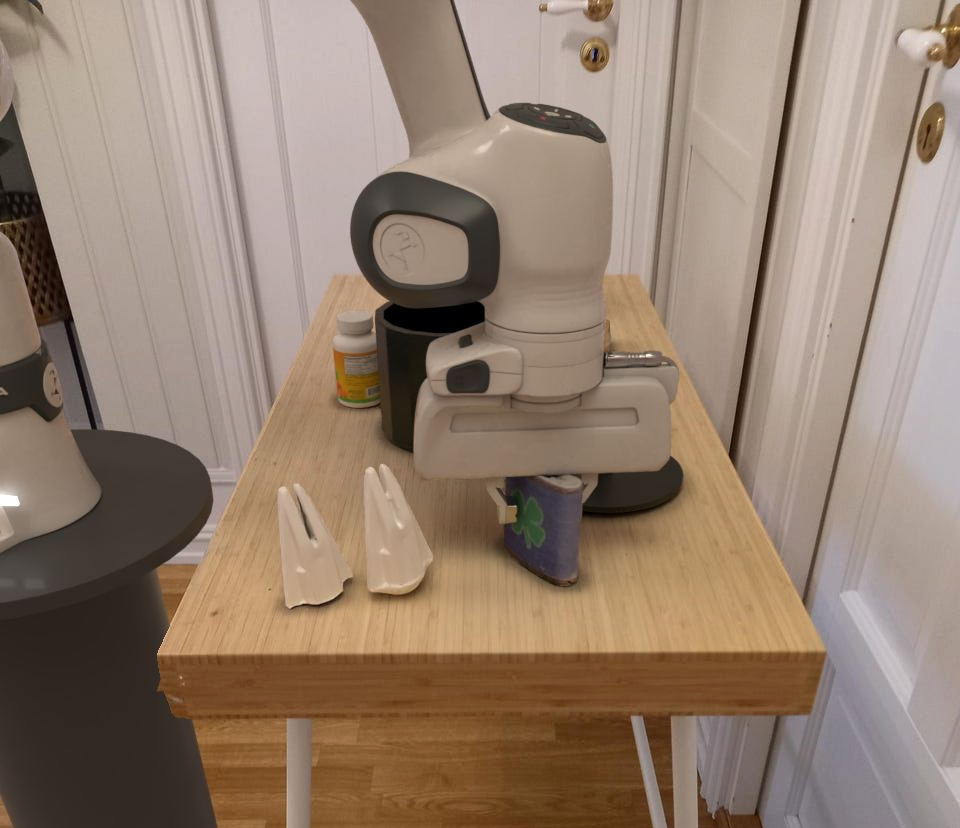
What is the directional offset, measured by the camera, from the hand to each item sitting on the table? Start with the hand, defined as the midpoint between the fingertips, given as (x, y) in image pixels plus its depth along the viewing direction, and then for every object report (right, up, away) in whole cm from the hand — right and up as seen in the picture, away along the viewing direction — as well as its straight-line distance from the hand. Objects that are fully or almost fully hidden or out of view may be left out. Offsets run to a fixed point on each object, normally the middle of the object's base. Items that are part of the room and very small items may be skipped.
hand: (538, 519), depth 80 cm
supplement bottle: (-19, +18, +32) cm, 41 cm away
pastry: (+8, +28, +46) cm, 55 cm away
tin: (-8, +13, +26) cm, 30 cm away
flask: (0, -4, +2) cm, 4 cm away
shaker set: (-15, -6, -1) cm, 16 cm away
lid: (+7, +6, +15) cm, 17 cm away
